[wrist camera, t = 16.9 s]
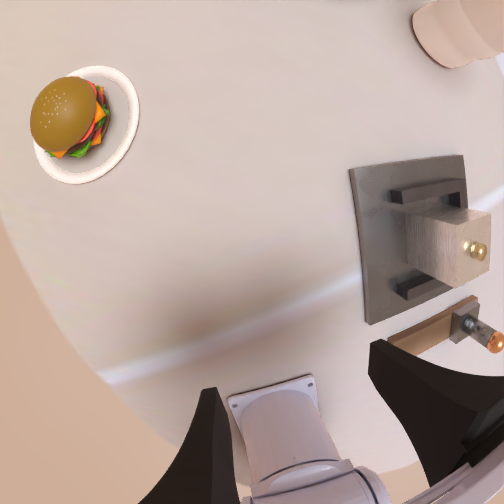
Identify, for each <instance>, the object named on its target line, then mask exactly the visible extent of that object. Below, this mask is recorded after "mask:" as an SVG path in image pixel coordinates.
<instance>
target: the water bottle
mask: <svg viewBox="0 0 504 504" xmlns="http://www.w3.org/2000/svg"><path fill="white" fill-rule="evenodd" d="M412 22H413V28H414V31H415V34H416V36H417V38H418V40H419V42H420V44H421V45H422V47H423V48H424V49H425V51H426V52H427V53H428V54H429V55H430V56H431V57H432V58H433V59H434V60H436V61H437V62H438V63H440V64H441V65H443V66H446V67H449V68H456V67H460V66H463V65H466V64H468V63H471V62H473V61H475V60H482V59H488V58H491V57H494V56H496V55H498V54H500V53H502V52H504V0H437V1H435V2H432V3H429V4H427V5H425V6H423V7H422V8H420V9H418V10H417V11H416V12H415V13H414V15H413V20H412Z"/></svg>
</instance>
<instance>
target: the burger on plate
mask: <svg viewBox="0 0 504 504" xmlns="http://www.w3.org/2000/svg"><path fill="white" fill-rule="evenodd" d="M90 77H103V78H107V79H110V80H112V81H113V82H115V83H117V84H118V85H119V86H120V88H121V89H122V90H123V92H124V94H125V95H126V98H127V101H128V104H129V121H128V126H127V130H126V133H125V136H124V138H123V140H122V142H121V144H120V145H119V147H118V148H117V150H116V151H115V152H114V154H113V155H112V156H111V157H110V158H109V159H108V160H107V161H105V162H104V163H103V164H101V165H100V166H98V167H96V168H94V169H92V170H89V171H86V172H80V173H73V172H68V171H65V170H63V169H61V168H59V167H58V166H57V165H56V164H54V162H53V161H52V160H51V159H50V157H49V155H48V153H49V154H50V155H51V157H52V156H53V157H55V156H56V157H57V158H58V159H61V157H62V156H63V155H67V156H76V157H78V158H79V157H80V156H82V157H83V155H85V154H86V151H88V150H89V149H90V148H92V147H93V146H94V145H96V144H100V143H101V137H102V136H103V134H104V133H105V131H106V128H107V126H108V122H109V117H110V110H109V104H108V101H107V99H106V96H105V95H104V94H103V88H104V87H101V86H97V85H94V83H93V84H92V83H91V82H89V81H87V80H84V79H85V78H90ZM138 120H139V101H138V97H137V94H136V90H135V88H134V86H133V85H132V83H131V81H130V80H129V79H128V78H127V77H126V76H125V75H124V74H123V73H121V72H120V71H118V70H116V69H114V68H111V67H107V66H89V67H84V68H82V69H79V70H76V71H74V72H72V73H70V74H69V75H67V76H65V77H63V78H60V79H57V80H55V81H53V82H51V83H50V84H49V85H48V86H46V87H45V88H44V89H43V90H42V91H41V92H40V94H39V95H38V97H37V98H36V100H35V102H34V104H33V107H32V111H31V117H30V128H31V133H32V136H33V141H34V149H35V153H36V156H37V158H38V161H39V163H40V165H41V166H42V167H43V169H44V170H45V171H46V173H48V174H49V175H50V176H51V177H53V178H54V179H56V180H58V181H60V182H63V183H68V184H83V183H86V182H90V181H93V180H95V179H97V178H99V177H101V176H103V175H104V174H106V173H107V172H108V171H109V170H111V169H112V168H113V167H114V166H115V165H116V164H117V163H118V162H119V161H120V160H121V159H122V157H123V156H124V154H125V153H126V151H127V150H128V148H129V147H130V145H131V142H132V140H133V138H134V136H135V133H136V129H137V126H138ZM47 152H48V153H47Z"/></svg>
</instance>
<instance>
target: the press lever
mask: <svg viewBox="0 0 504 504" xmlns="http://www.w3.org/2000/svg"><path fill="white" fill-rule="evenodd" d="M479 308H480V304H479V303H477V302H475V301H471V302H469V303H468V304H466V305H464V306H463V307H461V308H459V309H457V310H456V311H454V312H453V318H452V325H451V332H450V340H451V341H453V342H454V343H455V344H457V343H458V342H460V341H461V340H463V339H464V338H466V337H467V336H470V337H472V338H473V339H475V340H476V341H477V342H479V343H480V344H482V345H483V346H484V347H486V348H487V349H488V350H489V351H490V352H491V353H498V352H500V351H501V350H502V349H503V347H504V335H503V334H502V333H501V332H497V331H496V330H494V329H493V328H491V327H490V326H488V325H487V324H485V323H483V322H482V321H480V320H478V314H479Z"/></svg>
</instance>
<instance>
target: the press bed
mask: <svg viewBox="0 0 504 504" xmlns="http://www.w3.org/2000/svg"><path fill="white" fill-rule="evenodd" d="M349 173H350V179H351V185H352V191H353V197H354V204H355V210H356V218H357V225H358V233H359V241H360V250H361V260H362V271H363V284H364V299H365V319H366V322H367V323H368V324H369V325H373V324H375V323H378V322H380V321H382V320H385V319H387V318H390V317H392V316H395V315H397V314H399V313H402V312H404V311H406V310H408V309H411V308H413V307H415V306H417V305H420V304H422V303H424V302H426V301H428V300H430V299H432V298H434V297H437V296H439V295H441V294H443V293H445V292H447V291H449V290H451V289H453V287H451V286H449V285H447V284H446V283H444V282H442V281H440V280H438V279H436V278H434V277H432V276H430V275H428V274H426V273H424V272H422V271H420V270H418V269H416V268H414V267H412V266H409V265H408V259H407V237H406V223H405V212H409V211H413V210H417V209H421V208H425V207H429V206H433V205H437V204H445V205H451V206H456V207H461V208H466V209H468V200H467V187H466V176H465V167H464V160H463V155H452V156H443V157H434V158H425V159H417V160H409V161H402V162H395V163H388V164H381V165H374V166H368V167H362V168H356V169H350V170H349Z"/></svg>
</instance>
